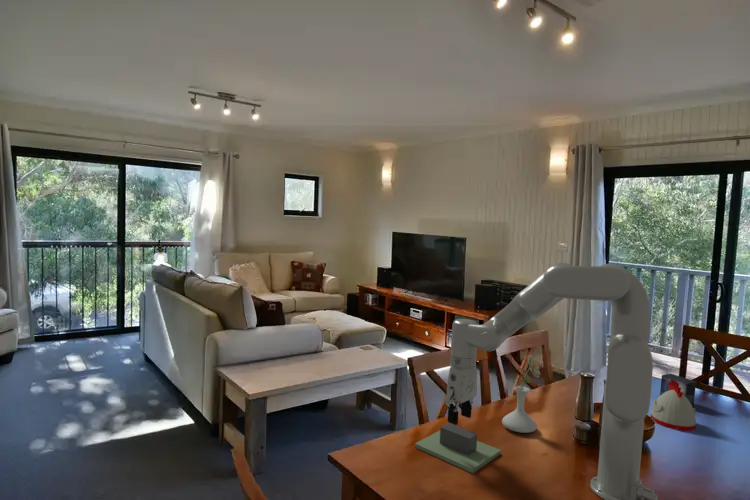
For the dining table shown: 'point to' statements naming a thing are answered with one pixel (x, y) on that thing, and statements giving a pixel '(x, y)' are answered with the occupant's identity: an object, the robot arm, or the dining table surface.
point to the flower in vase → (522, 404)
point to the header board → (458, 453)
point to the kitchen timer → (674, 410)
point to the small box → (684, 384)
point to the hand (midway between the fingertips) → (459, 419)
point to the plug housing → (458, 438)
